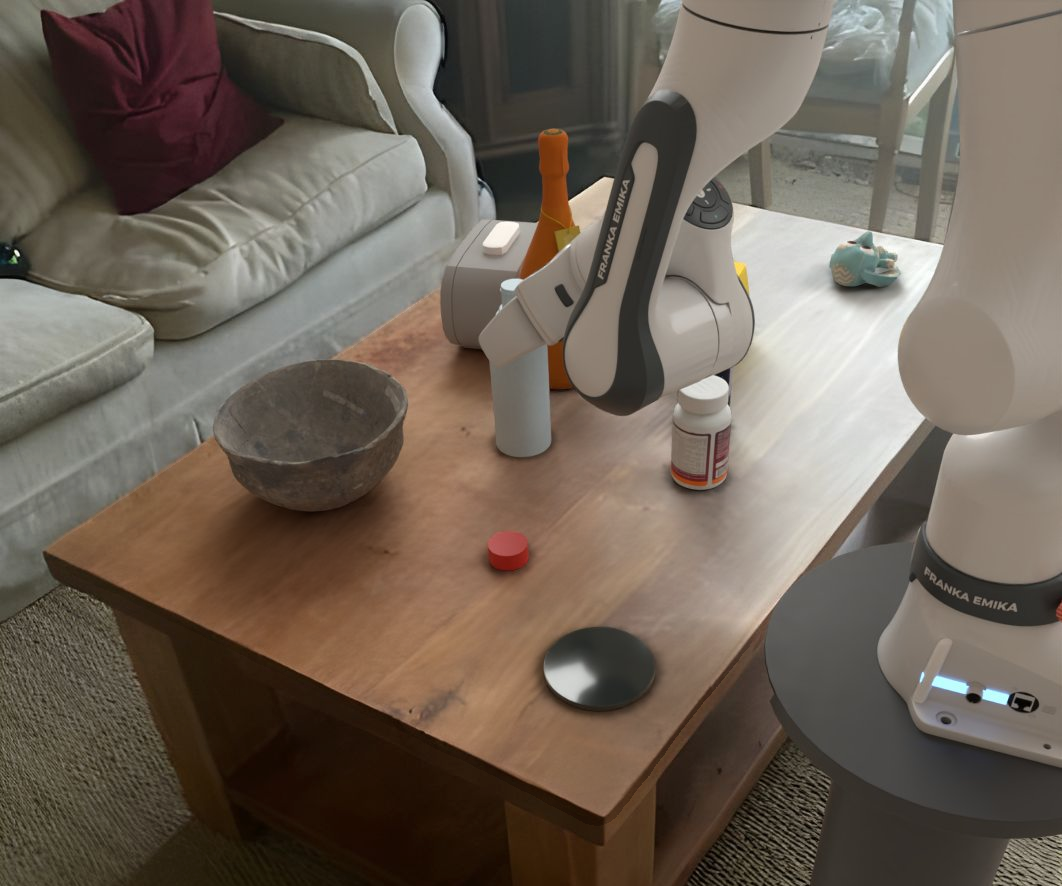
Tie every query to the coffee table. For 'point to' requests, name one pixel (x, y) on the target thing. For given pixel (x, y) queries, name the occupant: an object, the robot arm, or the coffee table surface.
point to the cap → (508, 550)
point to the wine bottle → (552, 229)
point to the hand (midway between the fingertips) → (530, 338)
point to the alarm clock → (481, 277)
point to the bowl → (313, 432)
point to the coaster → (599, 668)
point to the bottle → (521, 397)
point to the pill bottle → (701, 434)
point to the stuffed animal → (863, 263)
